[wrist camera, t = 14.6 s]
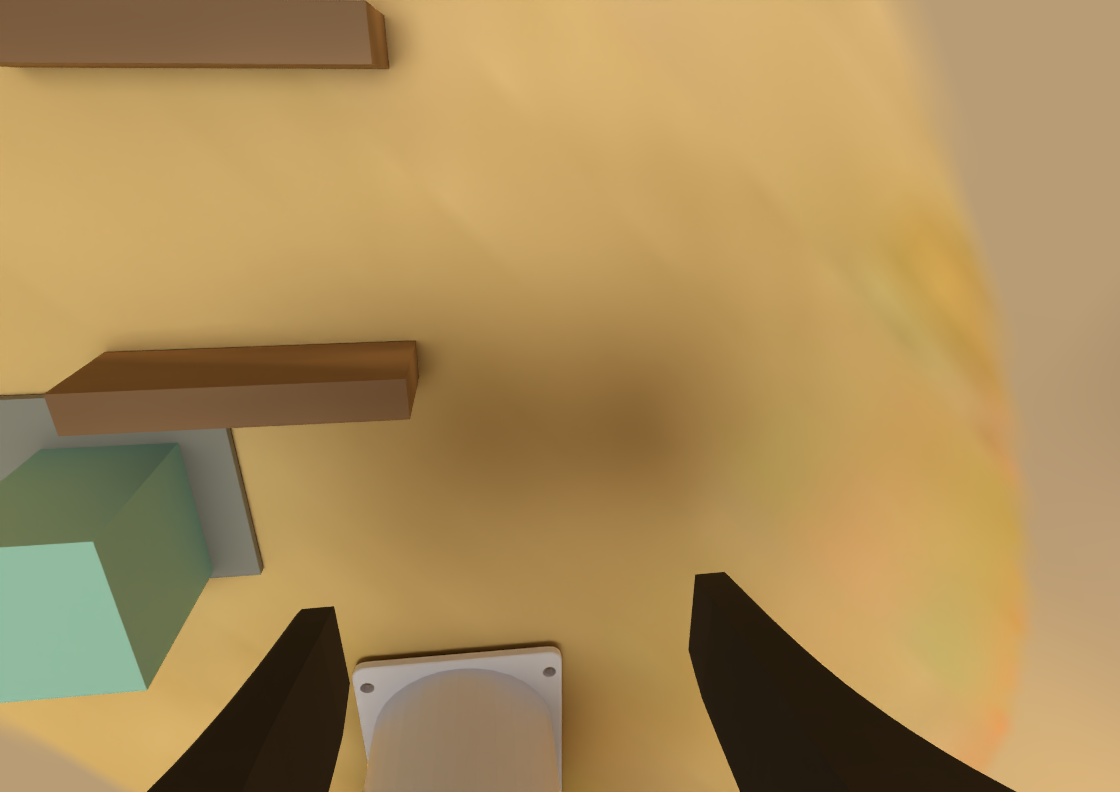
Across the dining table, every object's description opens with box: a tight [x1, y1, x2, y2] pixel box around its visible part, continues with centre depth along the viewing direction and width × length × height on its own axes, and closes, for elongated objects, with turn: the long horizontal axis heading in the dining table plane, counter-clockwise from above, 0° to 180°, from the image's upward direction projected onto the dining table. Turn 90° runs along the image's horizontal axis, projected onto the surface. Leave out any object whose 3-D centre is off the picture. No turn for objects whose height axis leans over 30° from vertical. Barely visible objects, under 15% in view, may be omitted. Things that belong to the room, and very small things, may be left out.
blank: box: [0, 443, 213, 703], centre depth 19 cm, size 4×5×5 cm
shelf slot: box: [0, 0, 419, 436], centre depth 17 cm, size 10×9×3 cm
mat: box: [0, 394, 263, 578], centre depth 21 cm, size 7×7×1 cm
